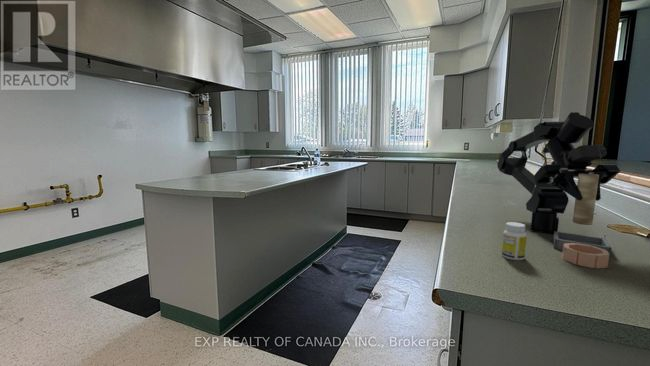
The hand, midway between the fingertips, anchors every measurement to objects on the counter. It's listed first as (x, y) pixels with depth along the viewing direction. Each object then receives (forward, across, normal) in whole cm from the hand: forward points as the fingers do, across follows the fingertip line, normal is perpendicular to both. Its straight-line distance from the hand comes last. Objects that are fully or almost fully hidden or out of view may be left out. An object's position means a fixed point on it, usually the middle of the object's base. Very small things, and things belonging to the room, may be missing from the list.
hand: (589, 199), depth 76 cm
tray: (+8, 0, +10) cm, 14 cm away
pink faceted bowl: (+15, -6, +4) cm, 17 cm away
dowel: (+4, 0, +6) cm, 7 cm away
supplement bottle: (+14, -21, +5) cm, 26 cm away
